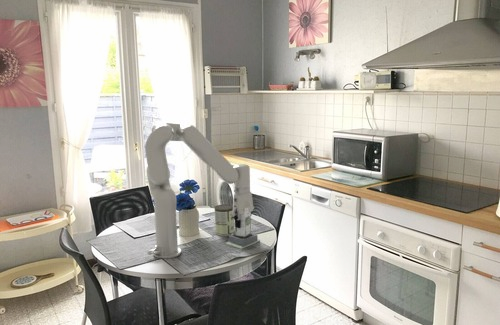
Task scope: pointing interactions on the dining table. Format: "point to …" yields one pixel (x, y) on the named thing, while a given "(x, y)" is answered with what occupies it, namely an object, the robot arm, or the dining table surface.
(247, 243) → the grey square tray
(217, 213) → the coffee can
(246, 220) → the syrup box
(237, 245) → the board
